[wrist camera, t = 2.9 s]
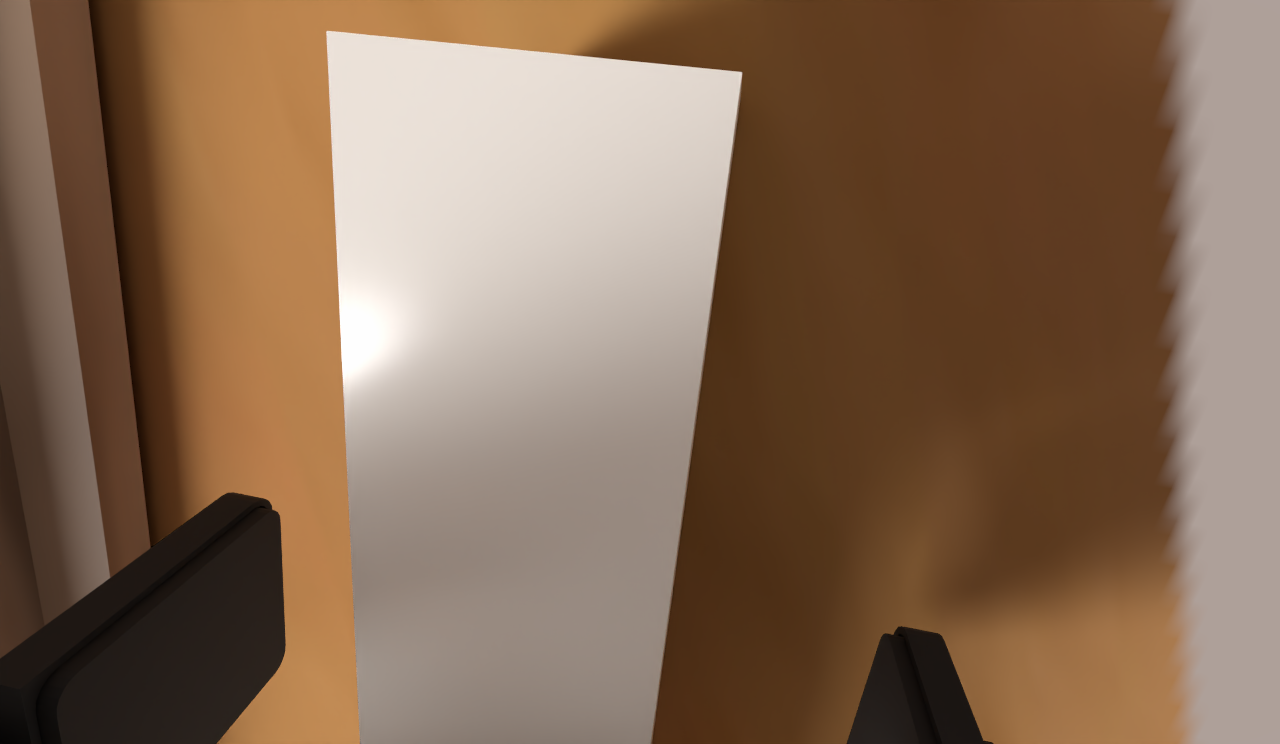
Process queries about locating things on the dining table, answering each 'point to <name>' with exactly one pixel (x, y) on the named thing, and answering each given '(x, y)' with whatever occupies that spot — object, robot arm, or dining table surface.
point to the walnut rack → (59, 330)
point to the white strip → (520, 377)
